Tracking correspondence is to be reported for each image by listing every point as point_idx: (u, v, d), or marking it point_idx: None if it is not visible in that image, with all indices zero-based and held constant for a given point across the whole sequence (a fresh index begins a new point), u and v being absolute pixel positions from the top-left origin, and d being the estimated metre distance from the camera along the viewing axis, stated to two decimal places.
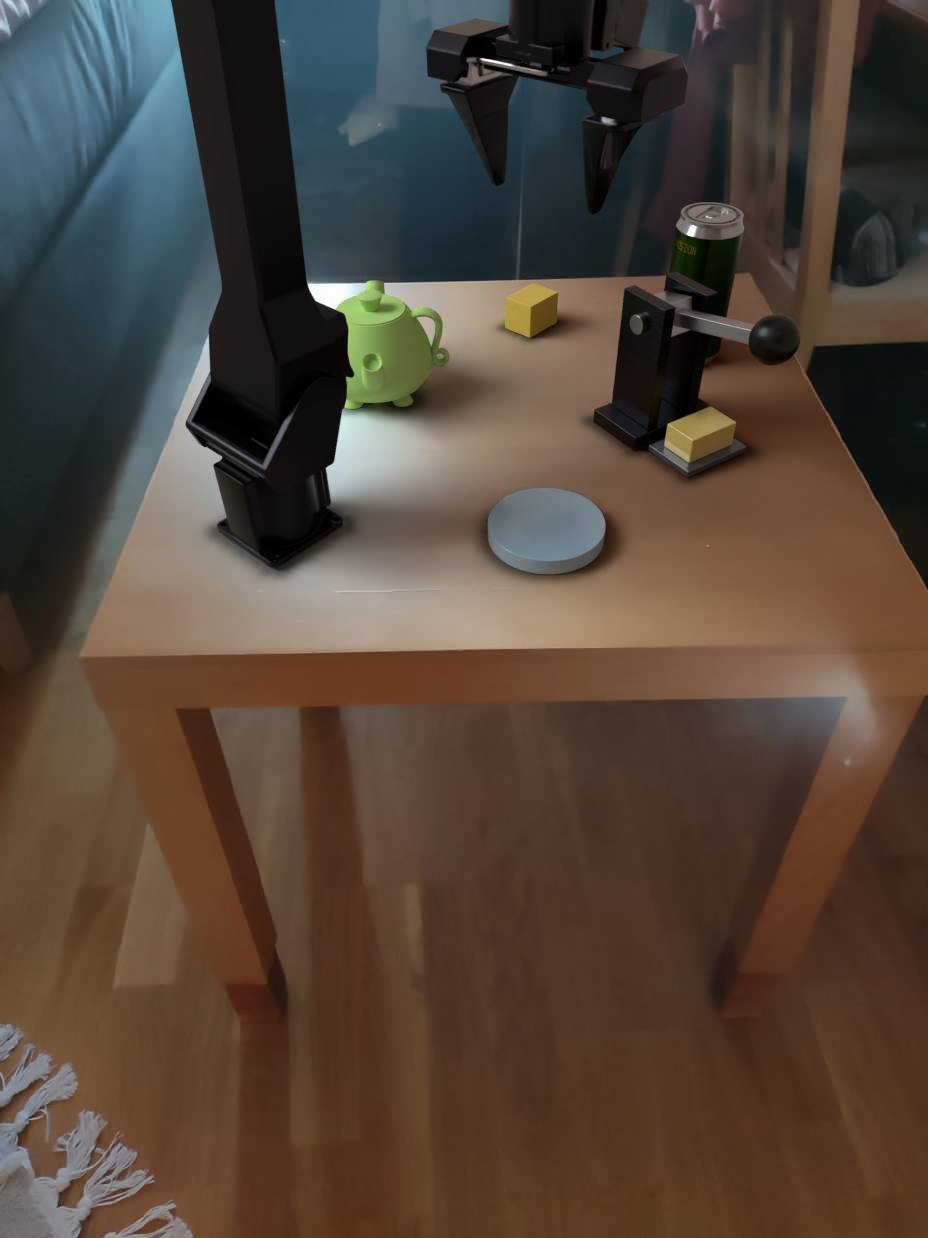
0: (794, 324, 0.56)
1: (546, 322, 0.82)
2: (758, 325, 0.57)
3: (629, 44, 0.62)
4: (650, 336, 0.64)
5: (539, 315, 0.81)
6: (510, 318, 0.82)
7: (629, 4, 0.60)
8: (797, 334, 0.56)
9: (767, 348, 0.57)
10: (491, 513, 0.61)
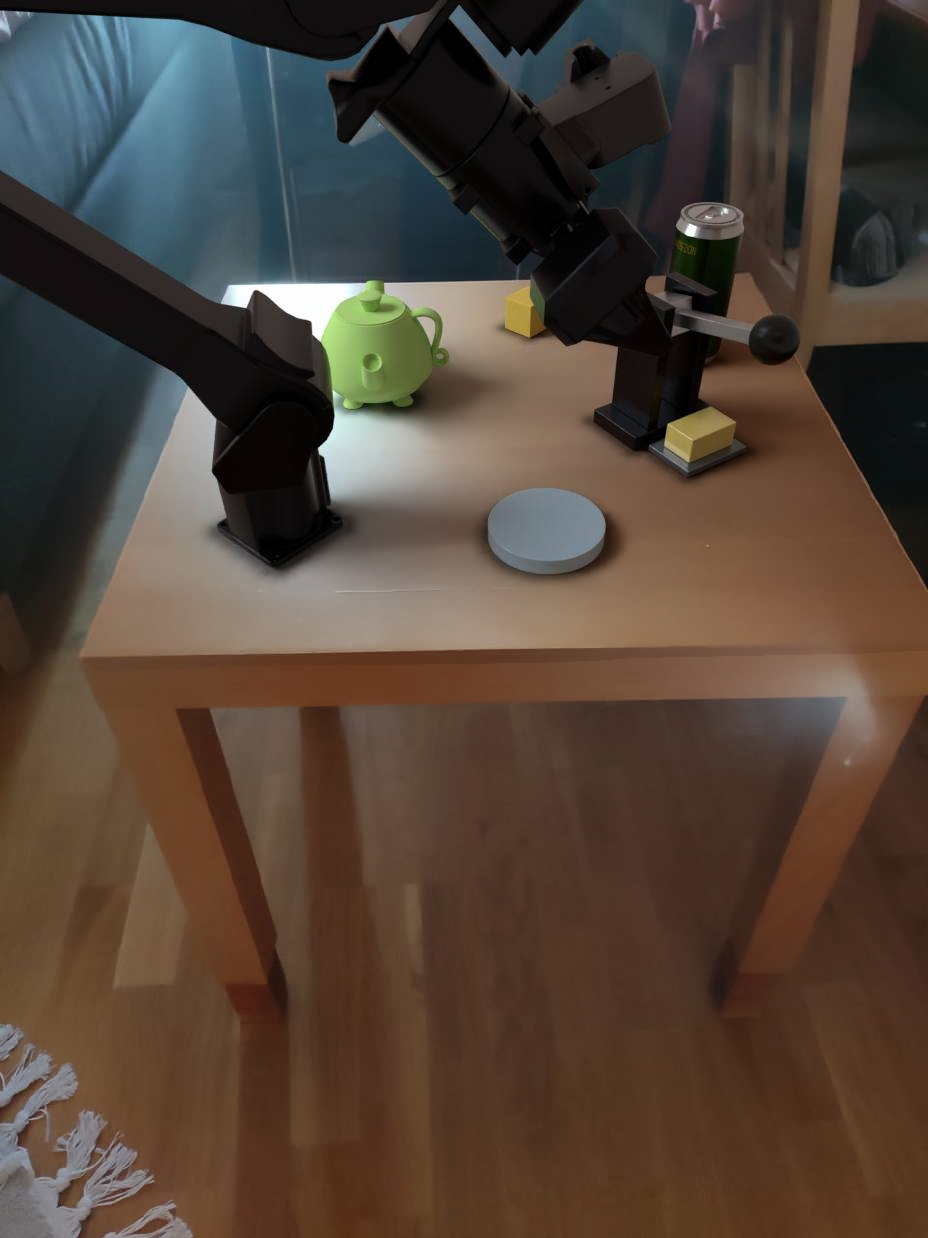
0: (794, 324, 0.56)
1: None
2: (758, 325, 0.57)
3: (641, 144, 0.46)
4: None
5: None
6: (510, 318, 0.82)
7: (606, 116, 0.45)
8: (797, 334, 0.56)
9: (767, 348, 0.57)
10: (491, 513, 0.61)
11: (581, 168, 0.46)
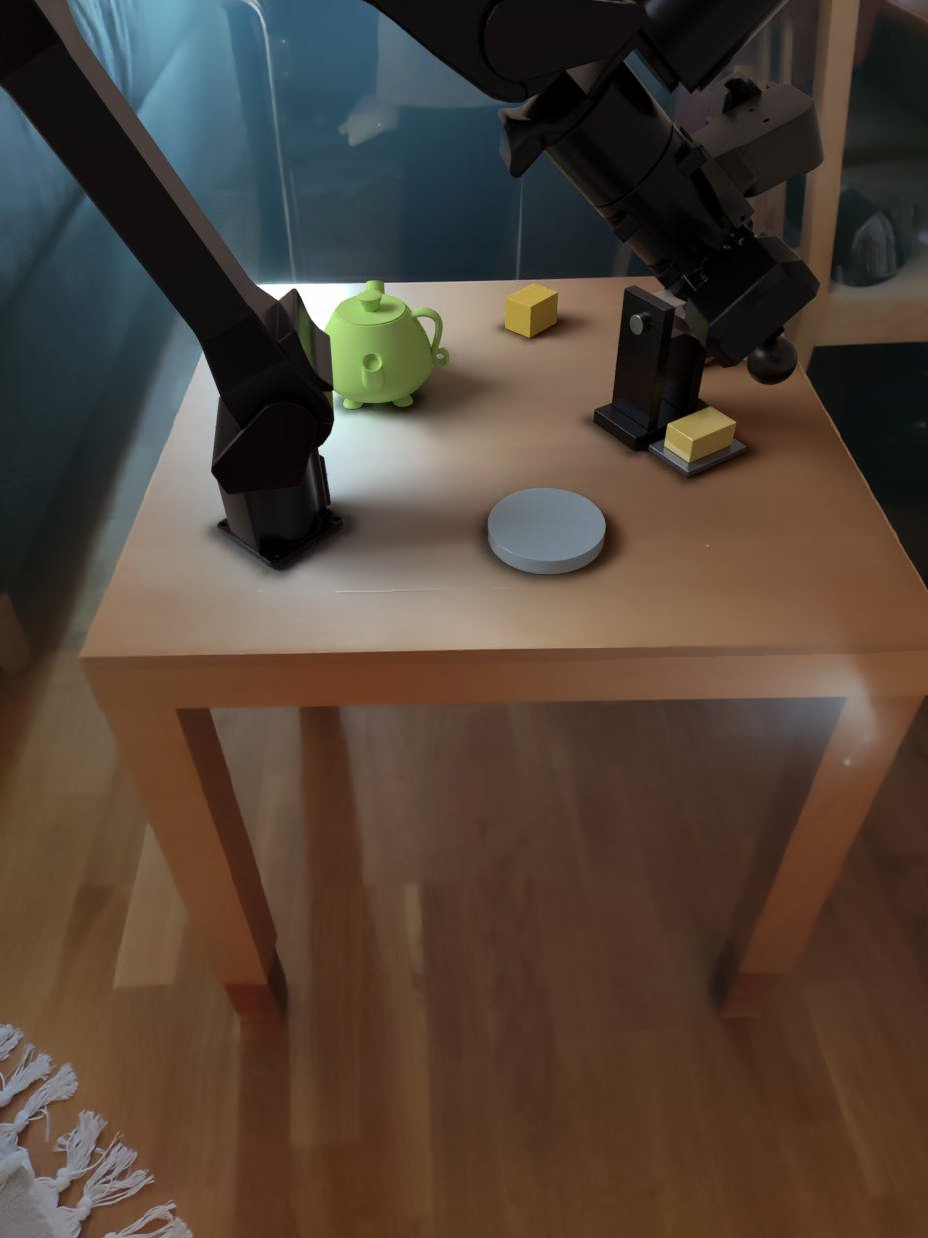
0: (793, 348, 0.57)
1: (546, 322, 0.82)
2: None
3: (795, 173, 0.48)
4: (650, 336, 0.64)
5: (539, 315, 0.81)
6: (510, 318, 0.82)
7: (765, 148, 0.47)
8: (795, 357, 0.57)
9: (764, 370, 0.57)
10: (491, 513, 0.61)
11: (738, 197, 0.48)
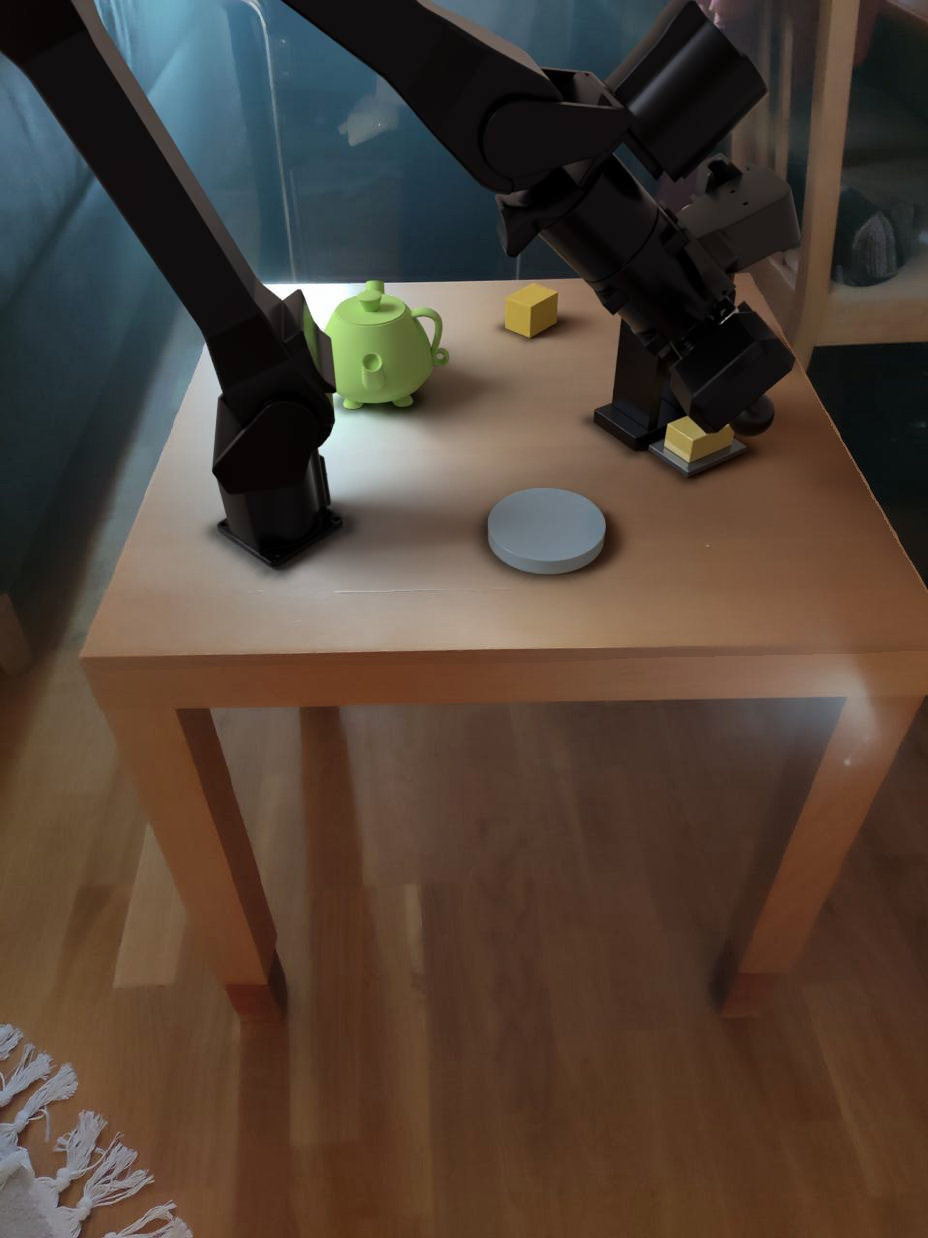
0: (772, 413, 0.61)
1: (546, 322, 0.82)
2: None
3: (773, 252, 0.51)
4: None
5: (539, 315, 0.81)
6: (510, 318, 0.82)
7: (745, 230, 0.50)
8: (771, 422, 0.61)
9: (742, 428, 0.61)
10: (491, 513, 0.61)
11: (720, 274, 0.51)
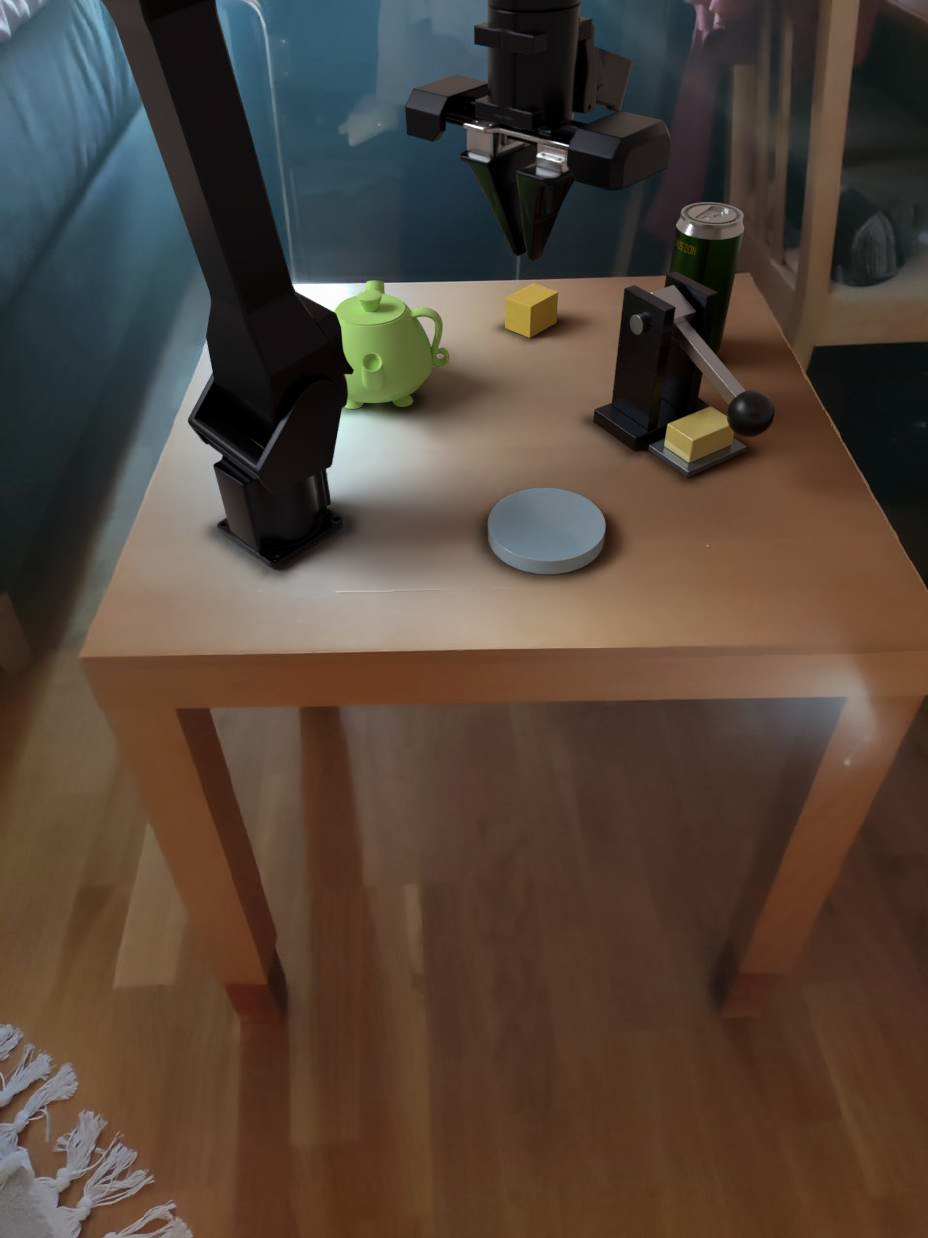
0: (772, 413, 0.61)
1: (546, 322, 0.82)
2: (743, 402, 0.61)
3: (612, 104, 0.61)
4: (650, 336, 0.64)
5: (539, 315, 0.81)
6: (510, 318, 0.82)
7: (611, 64, 0.59)
8: (771, 422, 0.61)
9: (742, 428, 0.61)
10: (491, 513, 0.61)
11: (594, 86, 0.58)
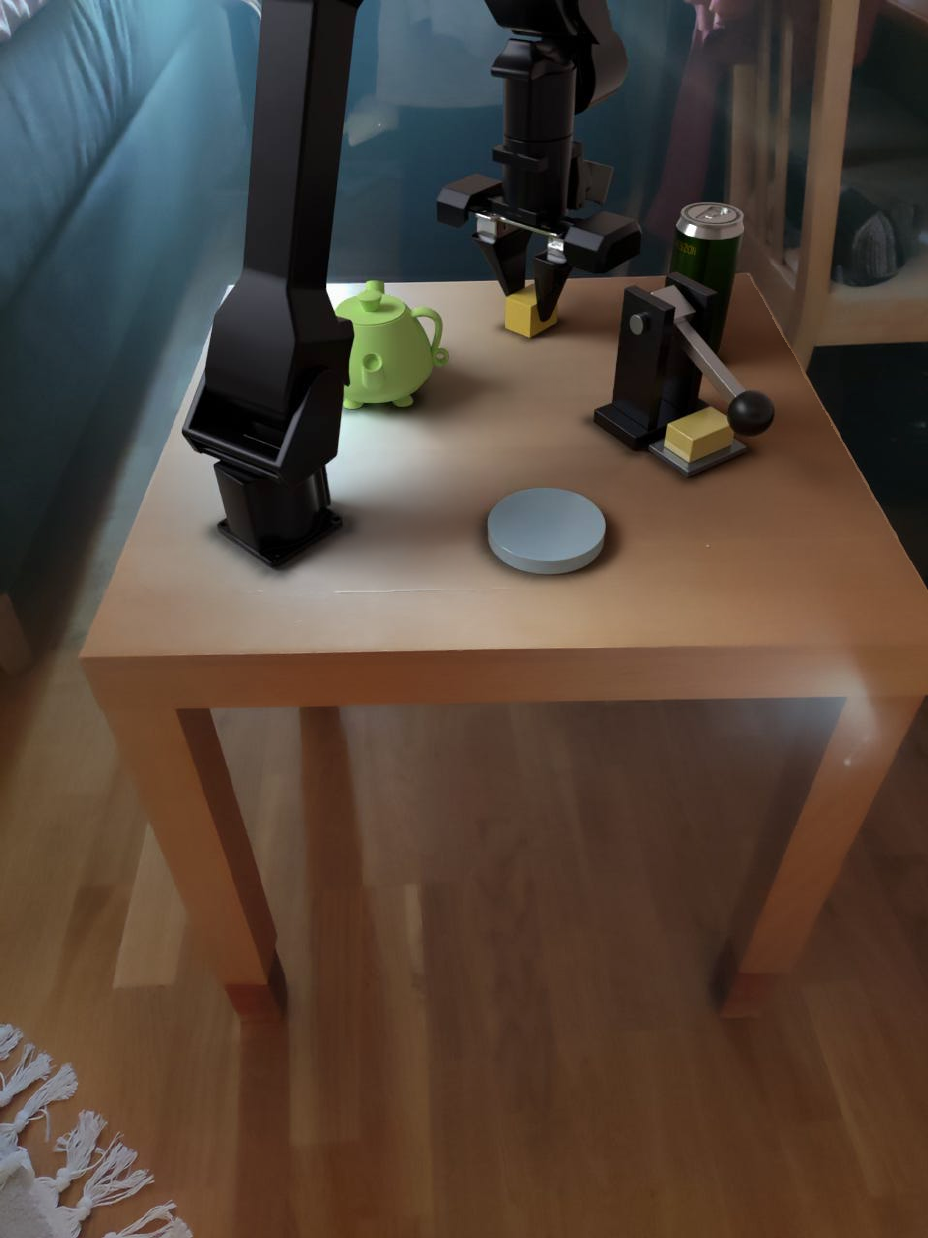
0: (772, 413, 0.61)
1: (546, 322, 0.82)
2: (743, 402, 0.61)
3: (597, 200, 0.78)
4: (650, 336, 0.64)
5: None
6: (510, 318, 0.82)
7: (597, 172, 0.76)
8: (771, 422, 0.61)
9: (742, 428, 0.61)
10: (491, 513, 0.61)
11: (584, 190, 0.75)
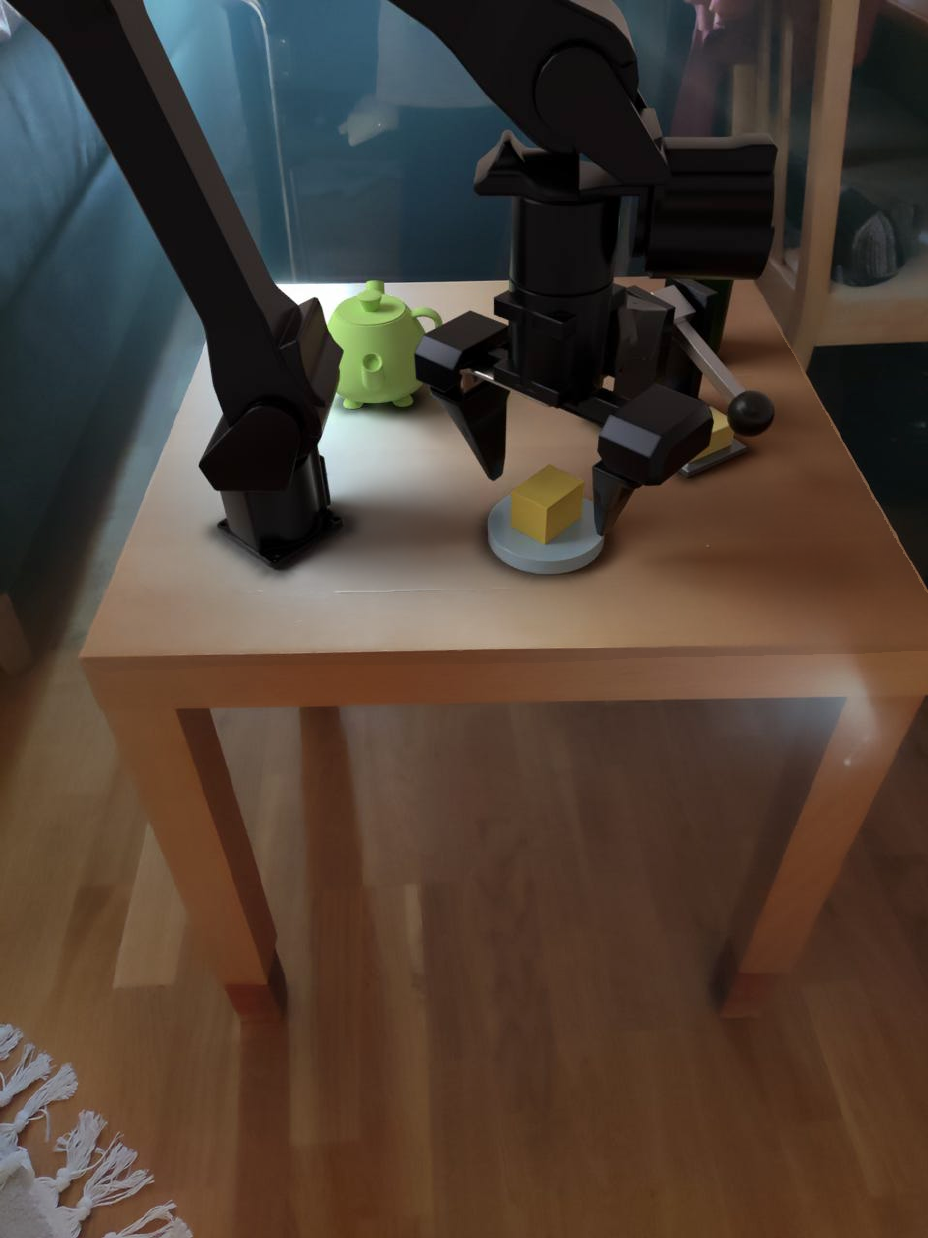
0: (772, 413, 0.61)
1: (567, 520, 0.59)
2: (743, 402, 0.61)
3: (644, 356, 0.55)
4: None
5: (558, 515, 0.58)
6: (518, 517, 0.59)
7: (645, 321, 0.53)
8: (771, 422, 0.61)
9: (742, 428, 0.61)
10: (491, 513, 0.61)
11: (627, 350, 0.52)
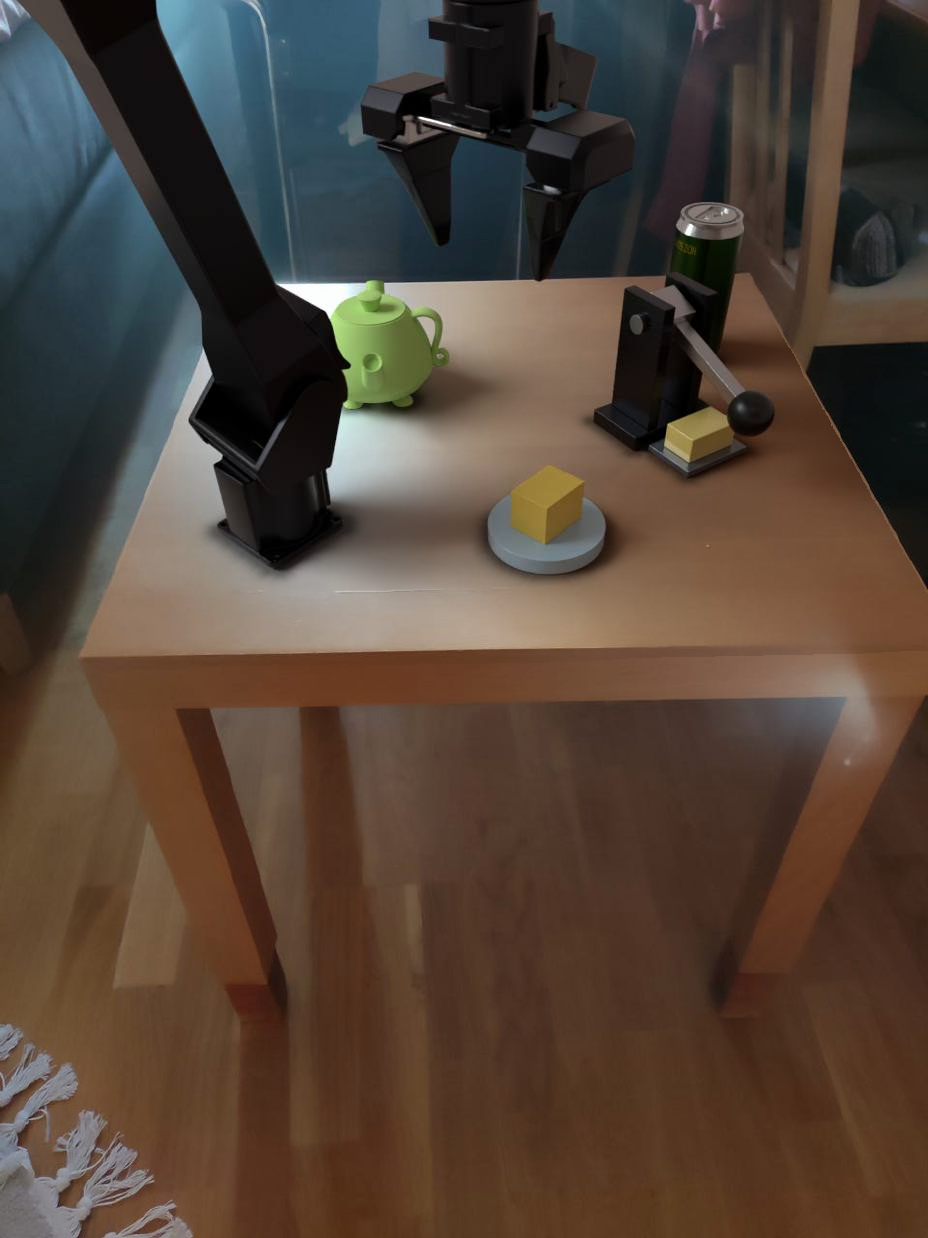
0: (772, 413, 0.61)
1: (567, 520, 0.59)
2: (743, 402, 0.61)
3: (576, 102, 0.58)
4: (650, 336, 0.64)
5: (558, 515, 0.58)
6: (518, 517, 0.59)
7: (574, 61, 0.56)
8: (771, 422, 0.61)
9: (742, 428, 0.61)
10: (491, 513, 0.61)
11: (556, 83, 0.55)
